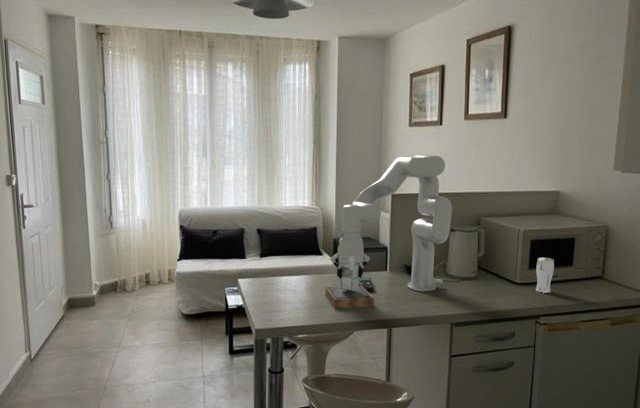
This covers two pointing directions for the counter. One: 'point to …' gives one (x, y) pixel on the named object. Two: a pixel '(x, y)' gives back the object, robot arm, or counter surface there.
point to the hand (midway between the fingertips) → (349, 277)
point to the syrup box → (350, 275)
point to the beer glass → (544, 274)
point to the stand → (349, 297)
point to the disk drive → (366, 284)
